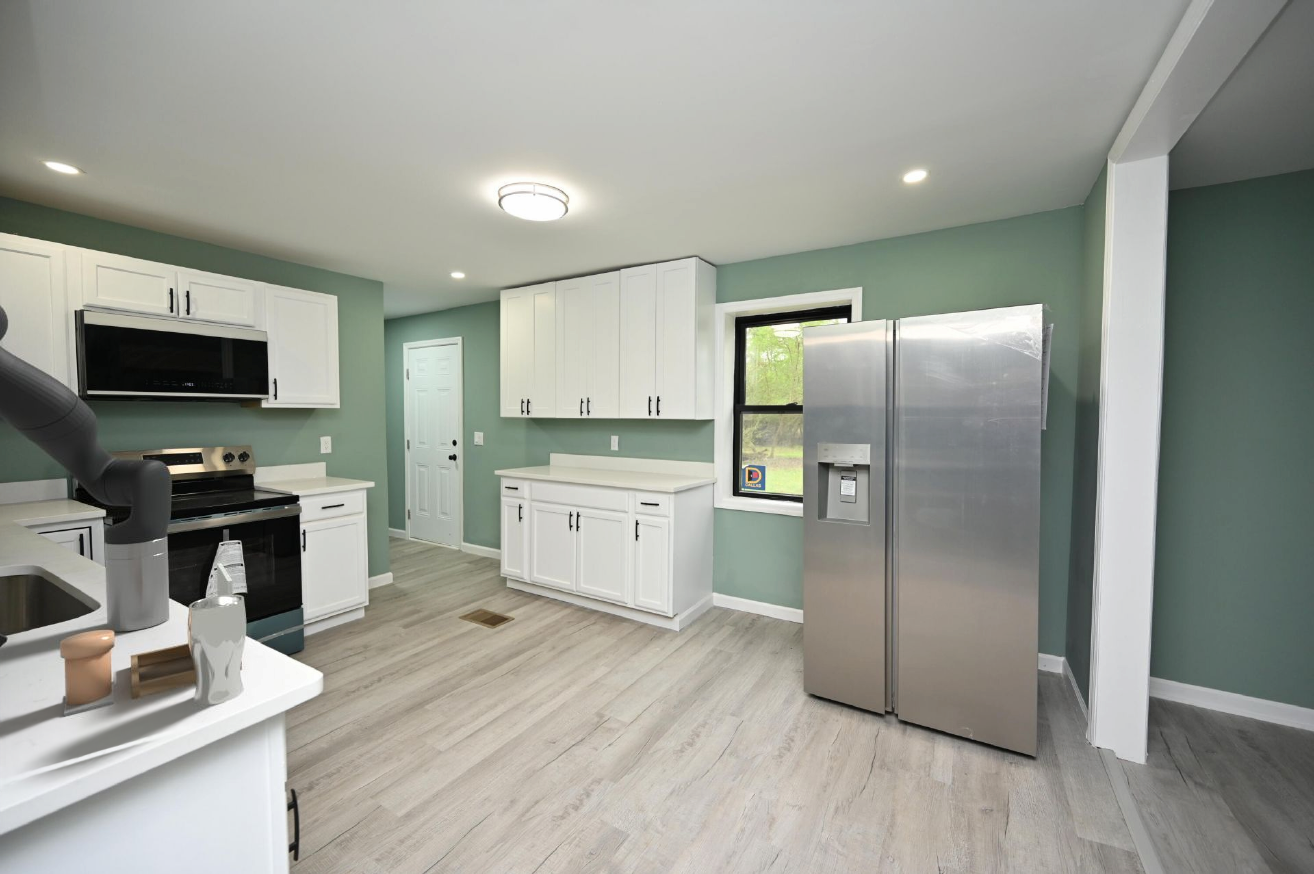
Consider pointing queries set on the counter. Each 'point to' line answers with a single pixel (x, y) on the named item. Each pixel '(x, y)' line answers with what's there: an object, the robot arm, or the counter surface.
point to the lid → (223, 581)
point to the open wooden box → (162, 670)
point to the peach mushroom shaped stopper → (87, 666)
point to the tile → (90, 704)
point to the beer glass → (217, 647)
